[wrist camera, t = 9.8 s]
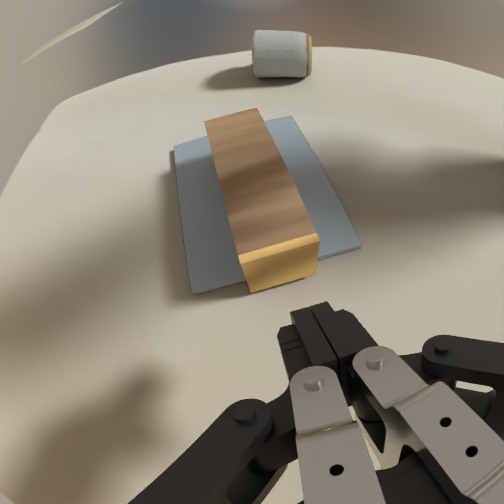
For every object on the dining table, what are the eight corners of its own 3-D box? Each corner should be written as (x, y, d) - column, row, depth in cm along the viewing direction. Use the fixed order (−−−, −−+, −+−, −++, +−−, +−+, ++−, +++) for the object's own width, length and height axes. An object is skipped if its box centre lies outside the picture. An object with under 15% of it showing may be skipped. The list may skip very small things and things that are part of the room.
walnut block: (320, 240, 18) (256, 107, 25) (240, 263, 17) (204, 121, 25) (315, 274, 22) (262, 146, 29) (251, 292, 22) (215, 158, 29)
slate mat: (360, 247, 23) (361, 244, 23) (193, 294, 23) (191, 292, 22) (291, 119, 32) (291, 115, 31) (175, 149, 32) (173, 146, 31)
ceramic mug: (313, 85, 35) (312, 37, 29) (254, 86, 37) (247, 39, 30) (310, 58, 40) (308, 19, 34) (261, 59, 42) (256, 20, 35)
